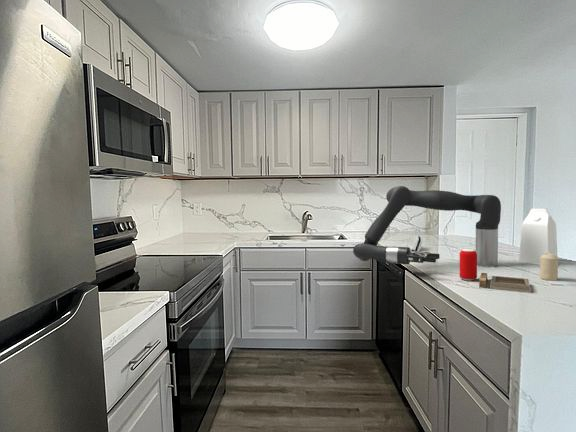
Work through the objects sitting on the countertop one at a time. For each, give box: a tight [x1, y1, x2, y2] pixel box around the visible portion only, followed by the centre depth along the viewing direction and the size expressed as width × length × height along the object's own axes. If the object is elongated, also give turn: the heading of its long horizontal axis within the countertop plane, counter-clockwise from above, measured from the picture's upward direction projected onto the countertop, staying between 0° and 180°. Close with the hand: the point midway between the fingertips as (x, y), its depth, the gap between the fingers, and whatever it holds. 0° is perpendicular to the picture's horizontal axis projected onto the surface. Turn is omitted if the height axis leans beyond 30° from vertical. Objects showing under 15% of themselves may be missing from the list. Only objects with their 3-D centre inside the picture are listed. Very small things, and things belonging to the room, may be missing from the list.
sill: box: [478, 272, 488, 289], centre depth 131 cm, size 14×2×2 cm, turn 148°
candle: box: [539, 253, 559, 281], centre depth 134 cm, size 6×6×10 cm
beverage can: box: [459, 248, 478, 282], centre depth 137 cm, size 6×6×12 cm
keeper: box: [489, 275, 532, 294], centre depth 125 cm, size 12×12×2 cm
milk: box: [518, 208, 559, 266], centre depth 164 cm, size 12×12×26 cm
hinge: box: [406, 234, 423, 252], centre depth 212 cm, size 17×5×10 cm, turn 169°
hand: (437, 258), depth 143 cm, fingers open, 8 cm apart
